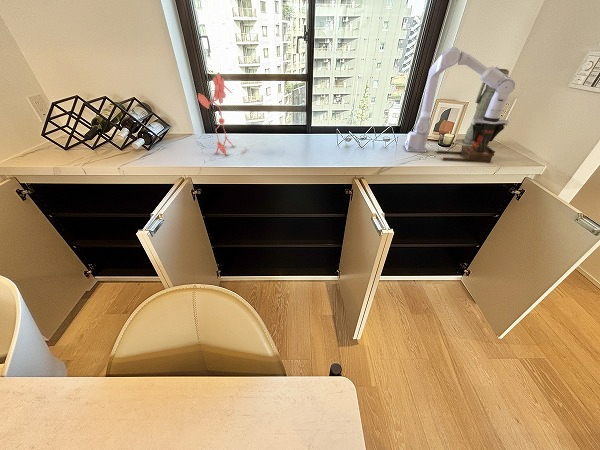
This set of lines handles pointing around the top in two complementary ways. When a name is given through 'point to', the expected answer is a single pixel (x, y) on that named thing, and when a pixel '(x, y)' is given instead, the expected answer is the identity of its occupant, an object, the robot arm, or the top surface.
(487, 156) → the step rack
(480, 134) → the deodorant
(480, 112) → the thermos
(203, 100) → the figurine
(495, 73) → the robot arm
